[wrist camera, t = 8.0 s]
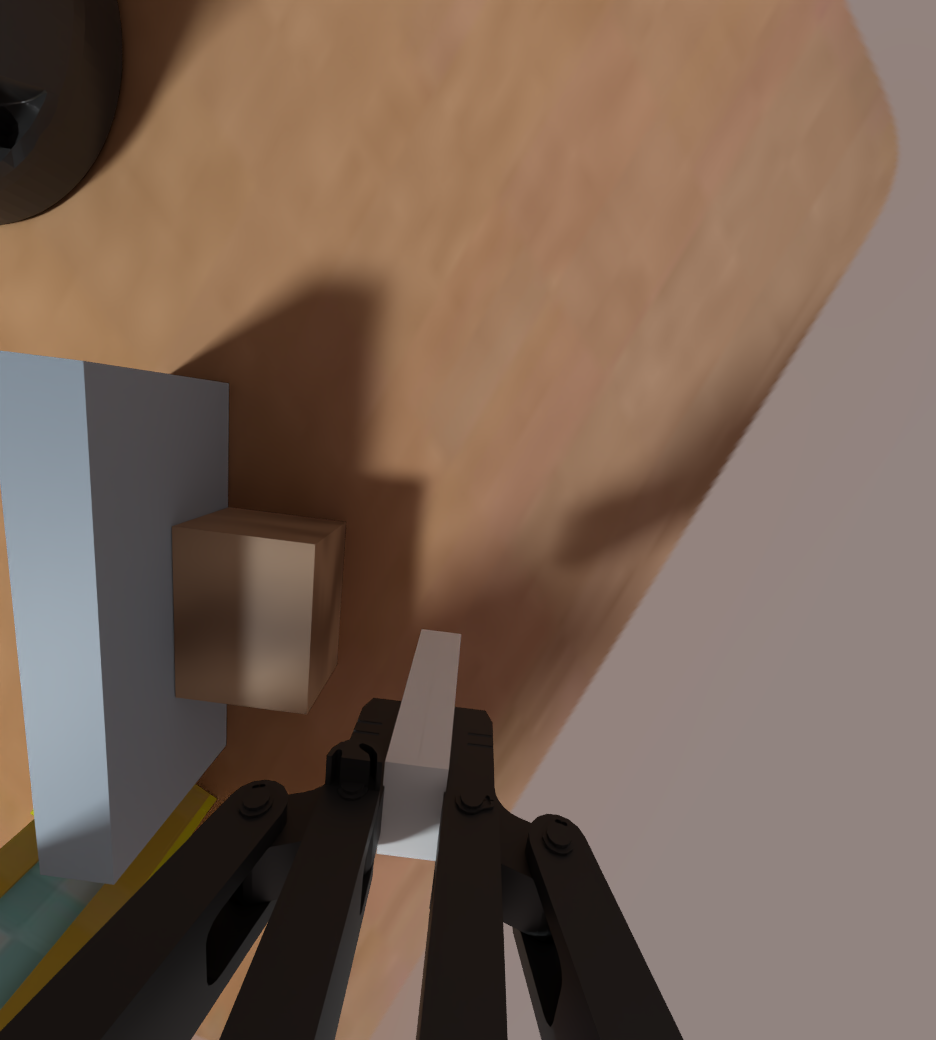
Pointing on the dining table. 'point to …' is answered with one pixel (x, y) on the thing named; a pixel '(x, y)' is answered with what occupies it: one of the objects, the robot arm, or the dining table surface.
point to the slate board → (105, 595)
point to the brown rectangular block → (256, 607)
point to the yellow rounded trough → (69, 903)
